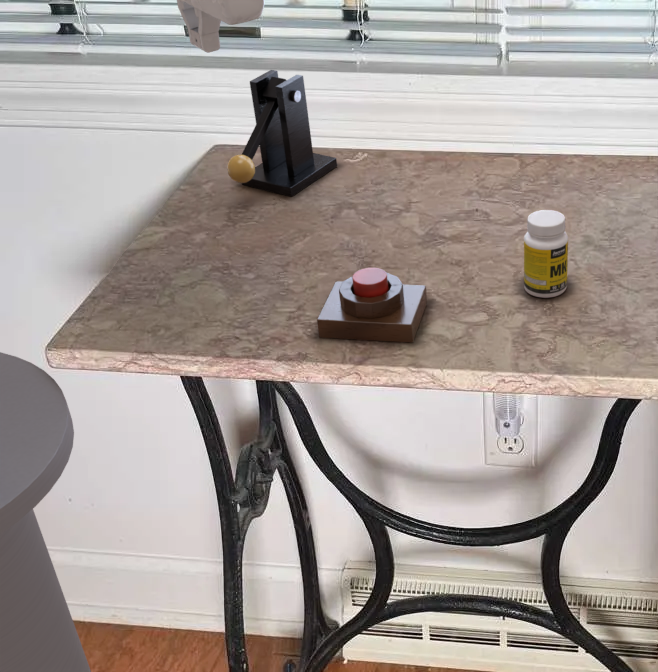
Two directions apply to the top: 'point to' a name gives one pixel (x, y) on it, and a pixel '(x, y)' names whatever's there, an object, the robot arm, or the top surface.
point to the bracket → (286, 140)
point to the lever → (255, 137)
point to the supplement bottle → (545, 254)
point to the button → (370, 282)
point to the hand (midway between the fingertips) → (205, 47)
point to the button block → (373, 312)
